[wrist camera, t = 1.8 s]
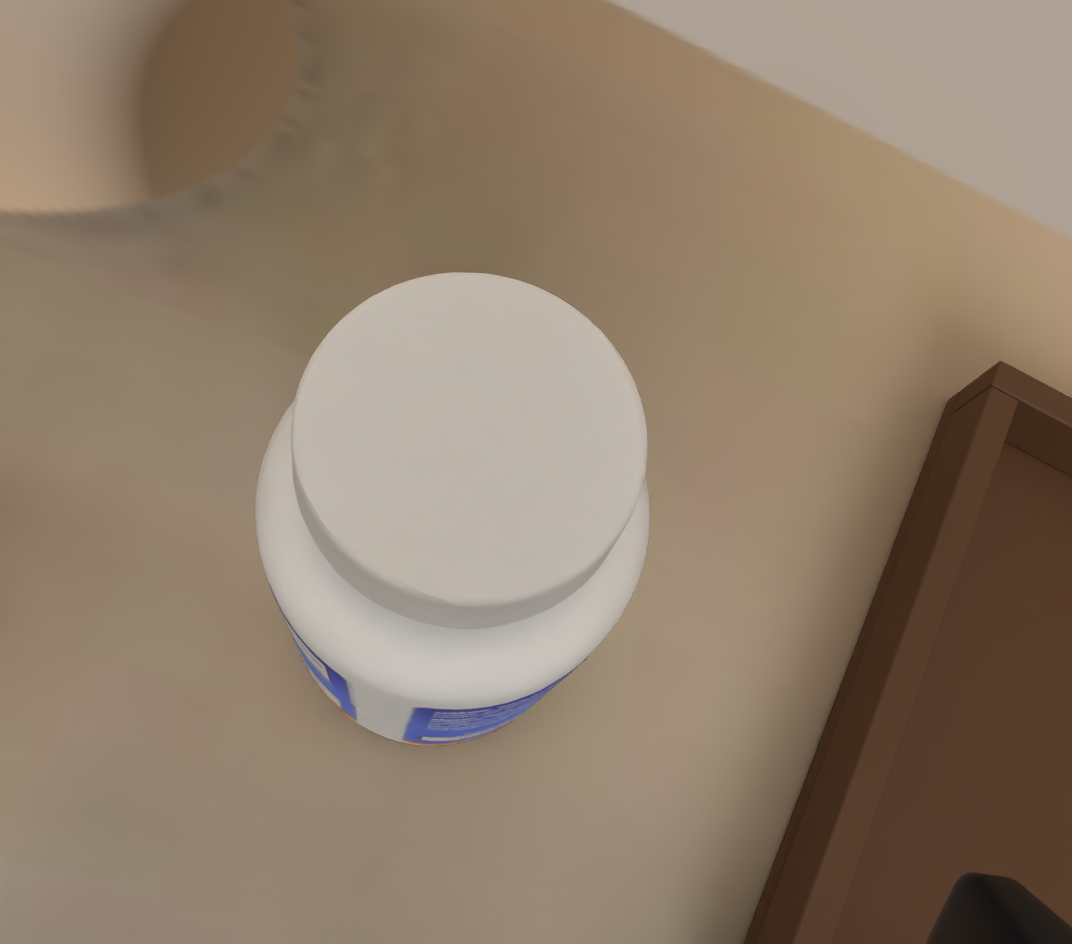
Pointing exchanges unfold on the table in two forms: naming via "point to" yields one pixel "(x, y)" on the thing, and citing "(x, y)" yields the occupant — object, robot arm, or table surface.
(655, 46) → the table surface
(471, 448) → the pill bottle
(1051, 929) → the robot arm
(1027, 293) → the table surface
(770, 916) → the tray
